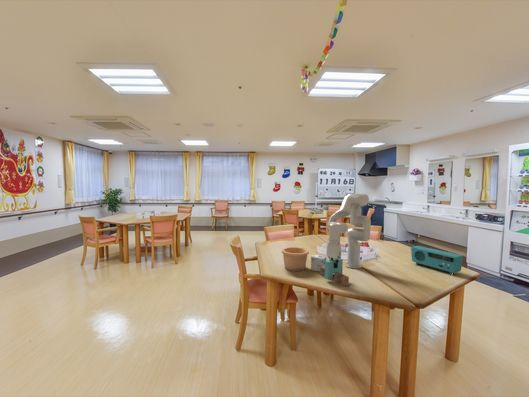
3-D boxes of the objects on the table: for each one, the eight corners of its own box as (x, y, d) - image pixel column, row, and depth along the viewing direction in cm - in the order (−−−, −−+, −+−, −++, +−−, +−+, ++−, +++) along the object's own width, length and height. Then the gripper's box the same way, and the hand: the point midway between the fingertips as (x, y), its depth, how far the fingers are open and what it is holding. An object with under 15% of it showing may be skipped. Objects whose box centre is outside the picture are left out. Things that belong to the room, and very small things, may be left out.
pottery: (306, 274, 180) (306, 255, 179) (278, 270, 187) (278, 252, 186) (310, 265, 200) (310, 248, 199) (284, 262, 207) (285, 245, 207)
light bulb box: (326, 269, 189) (326, 256, 188) (324, 272, 183) (324, 258, 182) (313, 267, 194) (313, 254, 194) (310, 270, 188) (310, 256, 188)
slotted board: (320, 274, 178) (320, 266, 178) (323, 274, 180) (323, 266, 179) (345, 286, 157) (345, 277, 157) (348, 285, 159) (348, 276, 159)
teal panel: (327, 279, 164) (328, 262, 163) (324, 278, 166) (324, 261, 166) (342, 276, 170) (342, 259, 170) (339, 274, 173) (339, 258, 172)
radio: (409, 263, 205) (410, 246, 205) (416, 262, 210) (417, 245, 209) (455, 277, 175) (456, 257, 174) (462, 275, 180) (463, 255, 179)
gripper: (322, 239, 172) (321, 264, 173) (339, 244, 158) (338, 271, 159) (329, 238, 176) (329, 263, 177) (347, 243, 162) (346, 269, 163)
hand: (333, 267), depth 168 cm, fingers closed on teal panel, 3 cm apart
